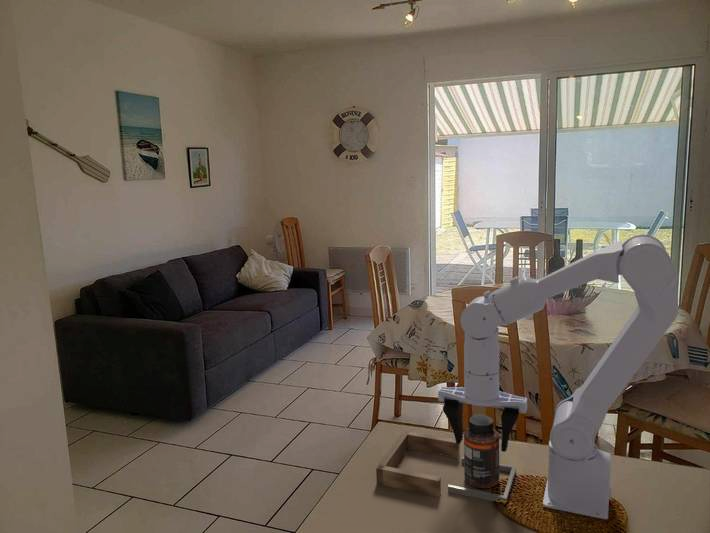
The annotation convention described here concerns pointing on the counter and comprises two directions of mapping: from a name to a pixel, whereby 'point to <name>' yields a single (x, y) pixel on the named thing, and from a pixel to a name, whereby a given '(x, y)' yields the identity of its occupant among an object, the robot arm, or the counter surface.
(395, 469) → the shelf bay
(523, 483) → the counter surface
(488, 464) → the supplement bottle
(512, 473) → the slate bracket
